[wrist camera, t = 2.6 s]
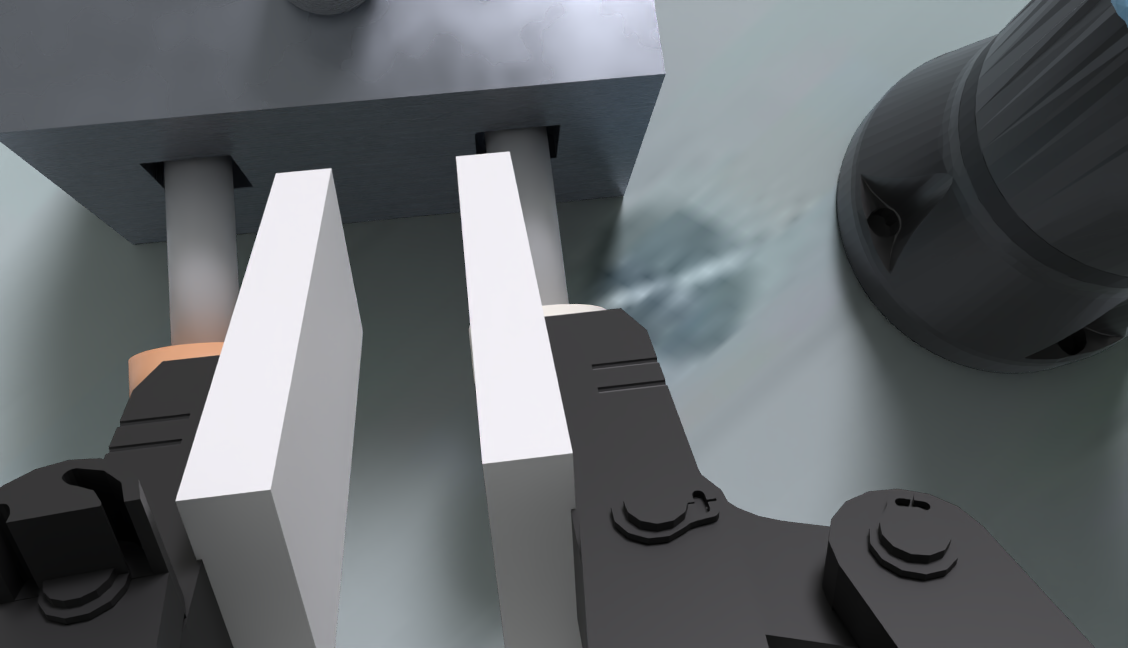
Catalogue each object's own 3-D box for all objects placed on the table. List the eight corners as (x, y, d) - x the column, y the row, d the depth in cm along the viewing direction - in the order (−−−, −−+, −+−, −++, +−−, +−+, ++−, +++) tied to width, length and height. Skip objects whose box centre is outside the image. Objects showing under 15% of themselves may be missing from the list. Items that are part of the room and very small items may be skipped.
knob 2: (608, 378, 38) (623, 354, 33) (476, 393, 37) (471, 371, 32) (576, 146, 40) (586, 90, 35) (451, 158, 39) (443, 103, 34)
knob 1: (299, 413, 37) (266, 394, 32) (161, 429, 36) (104, 412, 31) (283, 174, 39) (249, 120, 34) (152, 186, 38) (98, 134, 33)
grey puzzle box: (623, 196, 44) (665, 73, 32) (133, 244, 42) (-10, 133, 31) (600, 38, 46) (632, -133, 34) (128, 78, 44) (-10, -88, 32)
